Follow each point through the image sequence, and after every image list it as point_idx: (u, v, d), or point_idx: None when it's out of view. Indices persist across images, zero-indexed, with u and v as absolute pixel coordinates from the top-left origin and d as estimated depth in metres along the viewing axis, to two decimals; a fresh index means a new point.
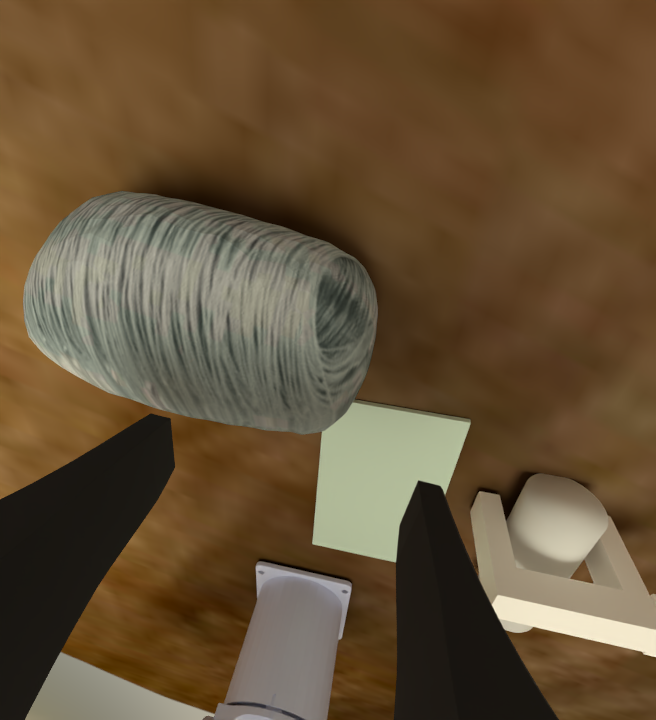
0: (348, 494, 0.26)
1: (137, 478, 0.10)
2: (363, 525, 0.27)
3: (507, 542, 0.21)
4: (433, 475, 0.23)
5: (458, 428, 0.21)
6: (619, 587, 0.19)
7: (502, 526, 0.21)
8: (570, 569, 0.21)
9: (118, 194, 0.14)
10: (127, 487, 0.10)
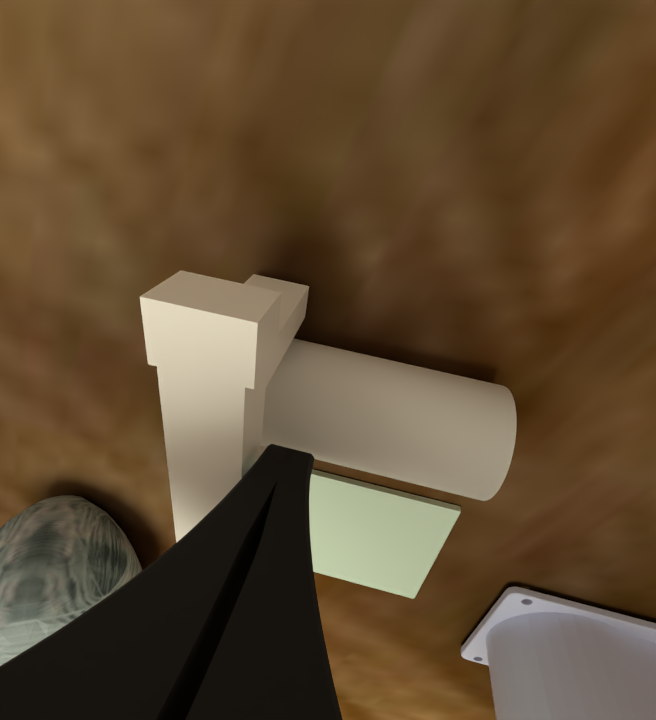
0: None
1: None
2: (366, 548, 0.20)
3: None
4: None
5: None
6: None
7: None
8: (282, 406, 0.12)
9: None
10: (265, 524, 0.09)
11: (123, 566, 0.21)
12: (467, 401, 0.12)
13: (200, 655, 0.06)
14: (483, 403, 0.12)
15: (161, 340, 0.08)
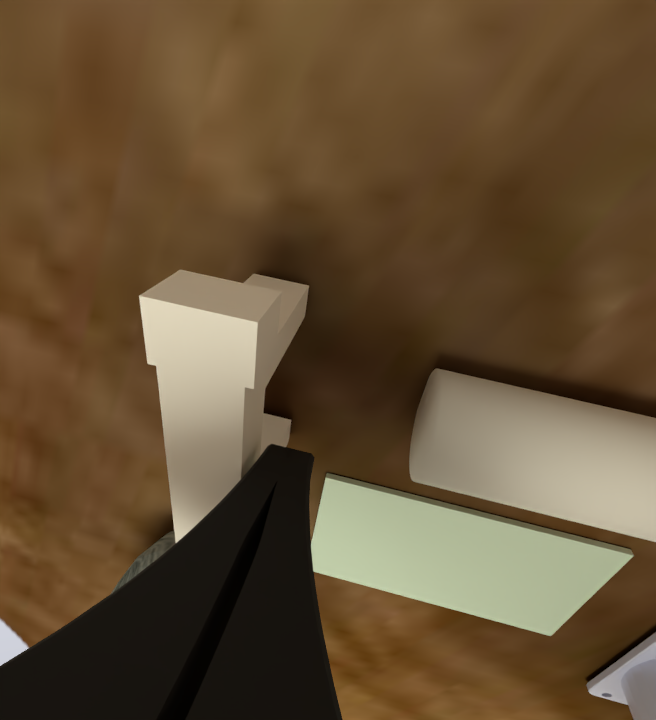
0: (448, 585, 0.21)
1: None
2: (512, 587, 0.20)
3: None
4: (413, 514, 0.18)
5: (334, 487, 0.18)
6: None
7: None
8: (534, 461, 0.11)
9: None
10: (265, 523, 0.09)
11: None
12: None
13: (200, 655, 0.06)
14: None
15: (160, 339, 0.08)
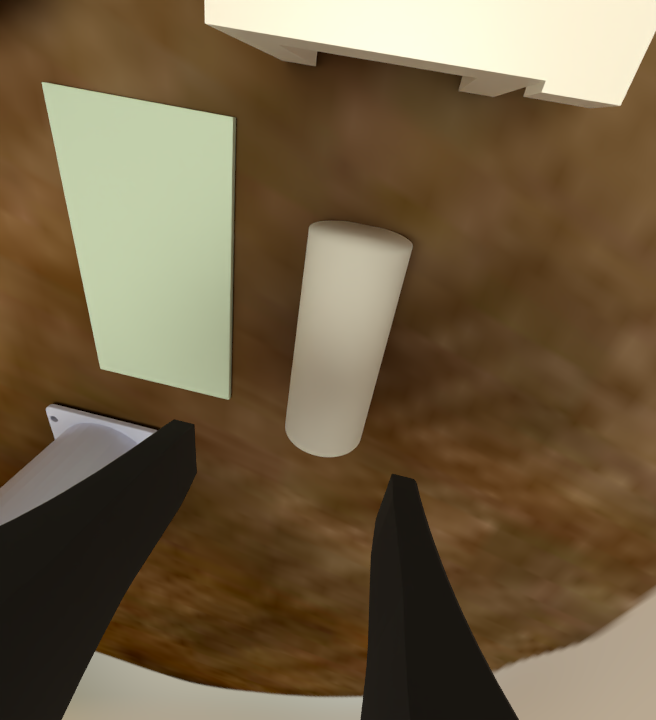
0: (118, 274, 0.19)
1: (163, 485, 0.10)
2: (149, 330, 0.21)
3: None
4: (209, 229, 0.17)
5: (220, 130, 0.15)
6: None
7: None
8: (368, 328, 0.15)
9: None
10: (153, 494, 0.09)
11: None
12: (364, 420, 0.19)
13: (38, 607, 0.06)
14: (363, 427, 0.19)
15: None
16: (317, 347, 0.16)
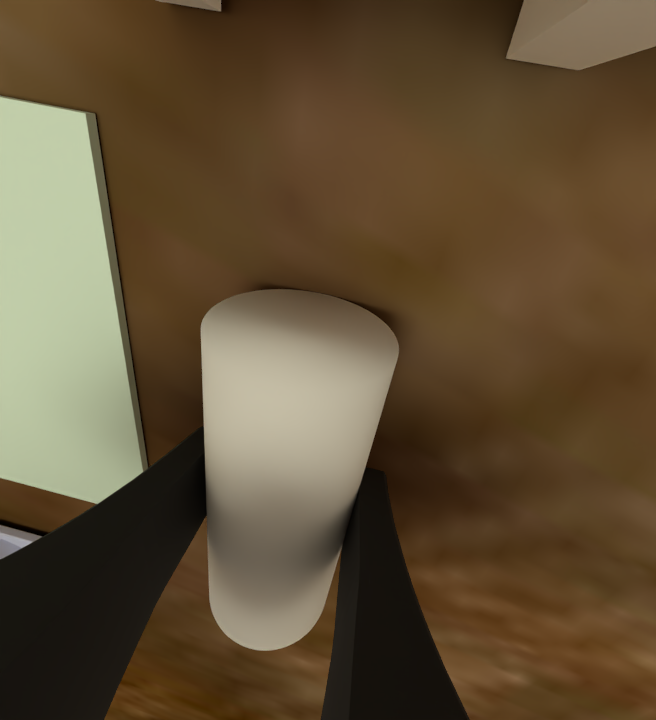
0: None
1: (193, 493, 0.10)
2: (24, 429, 0.14)
3: None
4: (81, 296, 0.11)
5: (67, 137, 0.08)
6: None
7: None
8: (304, 502, 0.08)
9: None
10: (185, 502, 0.09)
11: None
12: (324, 597, 0.12)
13: (83, 621, 0.06)
14: (322, 603, 0.12)
15: None
16: (221, 513, 0.09)
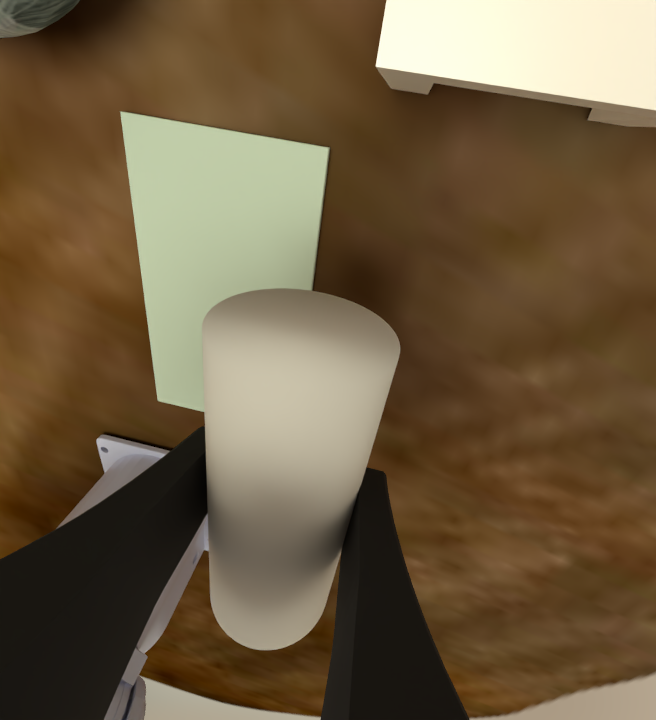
0: (186, 307, 0.18)
1: (193, 493, 0.10)
2: None
3: None
4: (290, 262, 0.16)
5: (312, 161, 0.14)
6: None
7: None
8: (305, 501, 0.08)
9: None
10: (185, 502, 0.09)
11: (50, 22, 0.11)
12: (324, 597, 0.12)
13: (83, 621, 0.06)
14: (323, 603, 0.12)
15: None
16: (222, 511, 0.09)
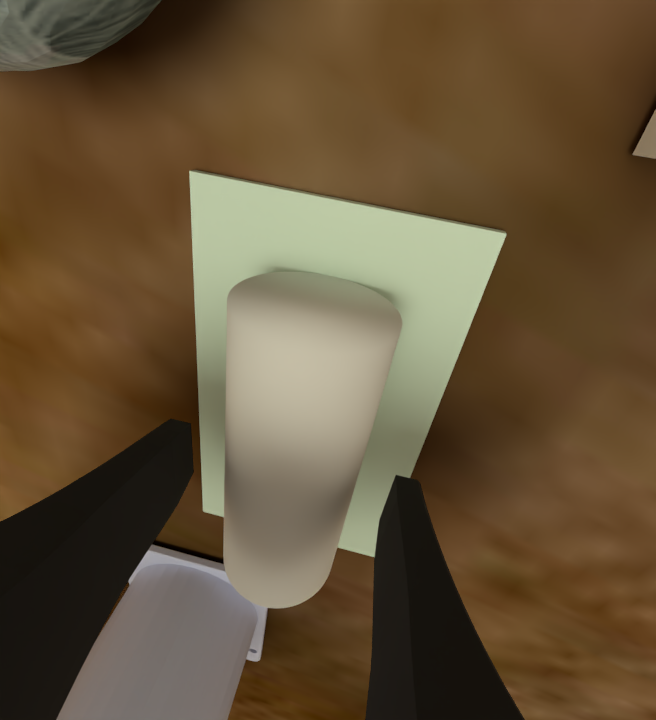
0: None
1: (159, 484, 0.10)
2: None
3: None
4: (414, 374, 0.12)
5: (477, 250, 0.10)
6: None
7: None
8: (316, 459, 0.09)
9: None
10: (149, 493, 0.09)
11: (105, 47, 0.07)
12: (330, 560, 0.13)
13: (32, 605, 0.06)
14: (329, 566, 0.13)
15: None
16: (240, 471, 0.10)
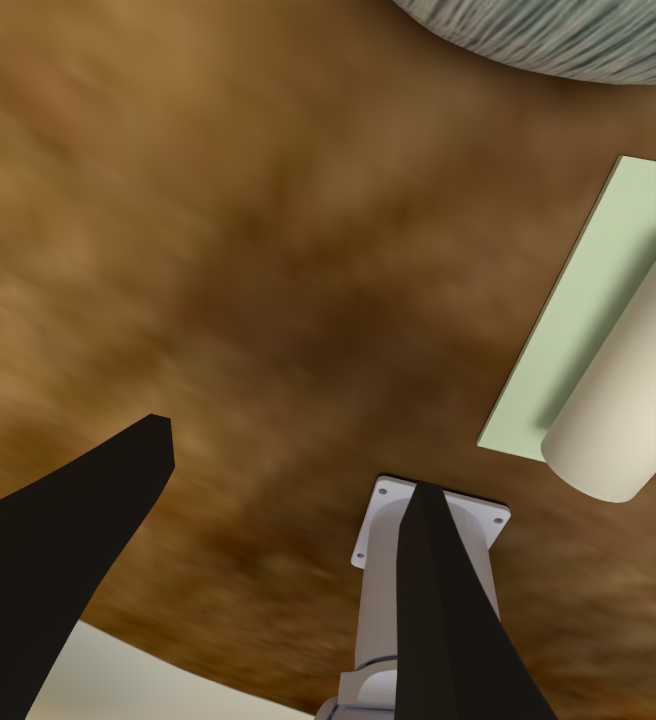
0: (575, 355, 0.17)
1: (137, 478, 0.10)
2: None
3: None
4: None
5: None
6: None
7: None
8: None
9: None
10: (127, 486, 0.10)
11: None
12: None
13: None
14: None
15: None
16: None
